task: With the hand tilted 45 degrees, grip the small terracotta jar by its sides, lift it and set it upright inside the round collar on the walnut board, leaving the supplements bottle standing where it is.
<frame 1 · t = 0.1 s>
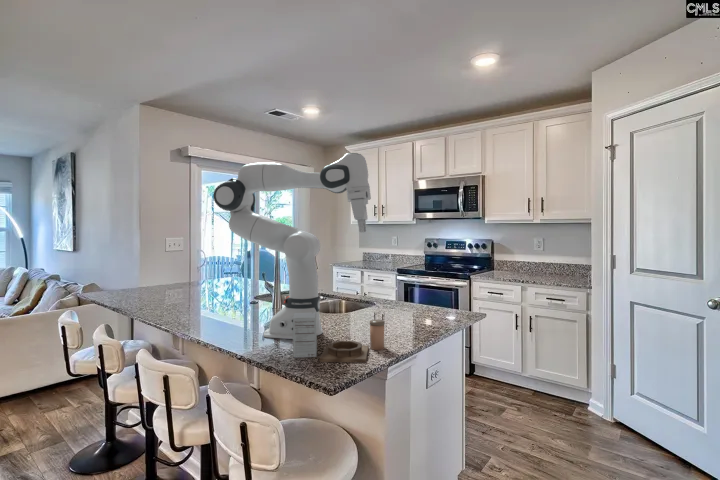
hand: (362, 232, 148), 39 cm above the countertop, tool pointing down, fingers open, 8 cm apart
jar stand: (345, 354, 124), on the countertop
supplement box: (305, 354, 126), on the countertop
spice jar: (377, 347, 131), on the countertop
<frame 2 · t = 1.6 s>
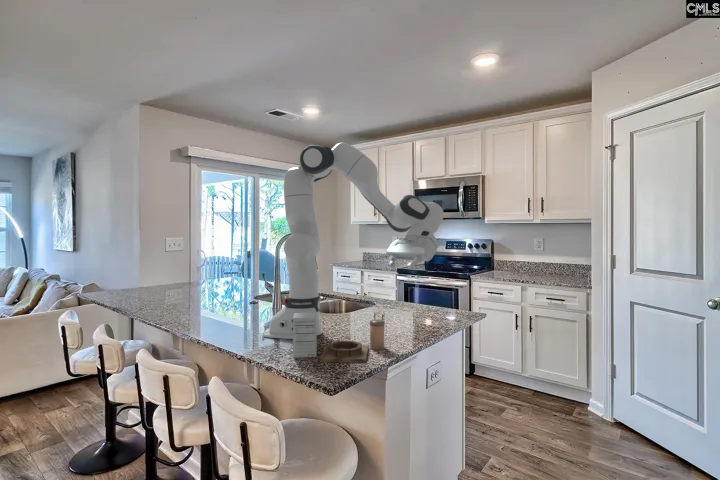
hand: (399, 267, 138), 26 cm above the countertop, tool tilted 45°, fingers open, 8 cm apart
nothing on the countertop moved.
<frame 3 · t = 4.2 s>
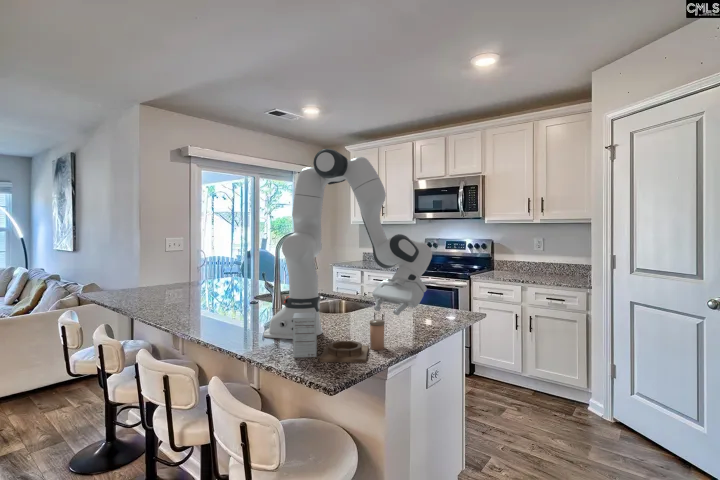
hand: (385, 312, 134), 11 cm above the countertop, tool tilted 45°, fingers open, 8 cm apart
nothing on the countertop moved.
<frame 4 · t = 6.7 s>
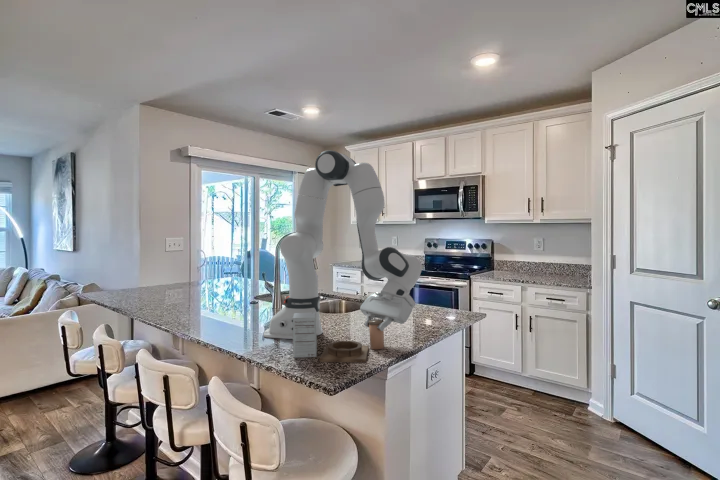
hand: (372, 328, 130), 7 cm above the countertop, tool tilted 45°, fingers closed on spice jar, 5 cm apart
spice jar: (377, 347, 131), on the countertop, touching gripper
everything else where it was.
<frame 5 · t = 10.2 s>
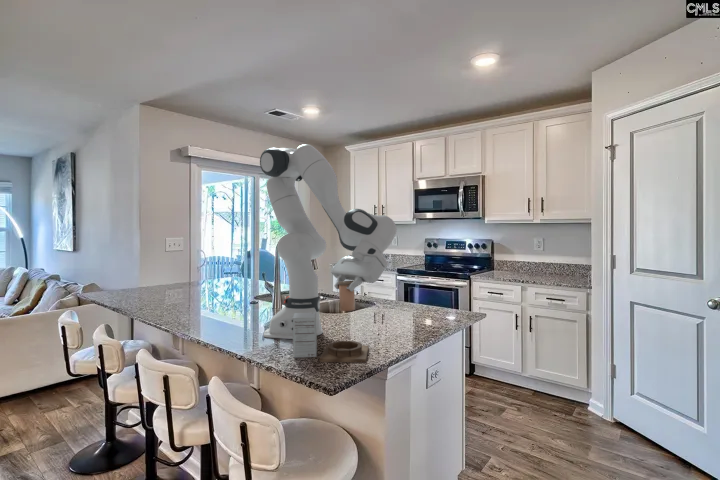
hand: (342, 288, 123), 21 cm above the countertop, tool tilted 45°, fingers closed on spice jar, 5 cm apart
spice jar: (347, 309, 124), point 14 cm above the countertop, touching gripper
everything else where it was.
when the fingers open (9 cm above the countertop, at t = 13.7 s): spice jar drops 1 cm, resting on jar stand.
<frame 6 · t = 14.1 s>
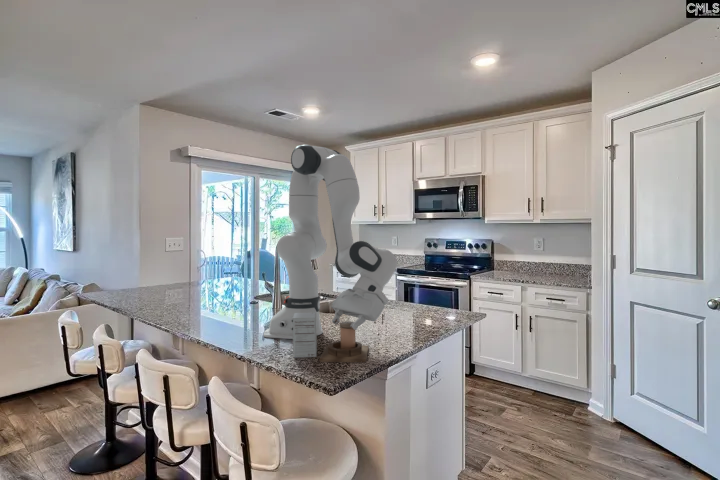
hand: (343, 325, 123), 9 cm above the countertop, tool tilted 45°, fingers open, 8 cm apart
spice jar: (348, 351, 124), point 1 cm above the countertop, touching jar stand
everything else where it was.
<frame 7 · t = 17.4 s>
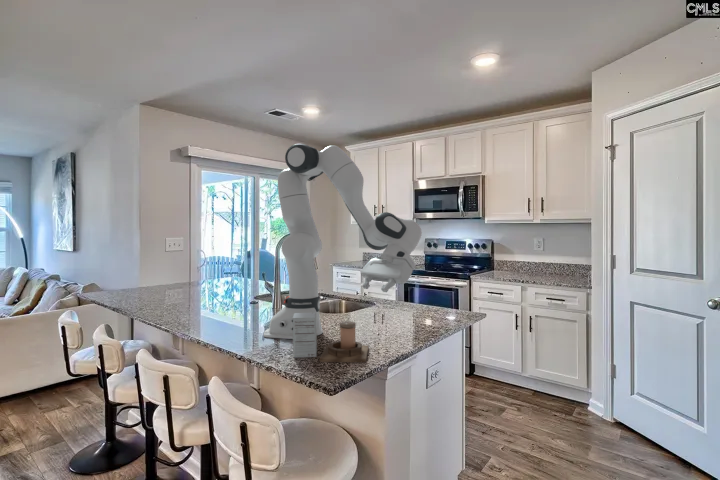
hand: (373, 289, 132), 19 cm above the countertop, tool tilted 45°, fingers open, 8 cm apart
nothing on the countertop moved.
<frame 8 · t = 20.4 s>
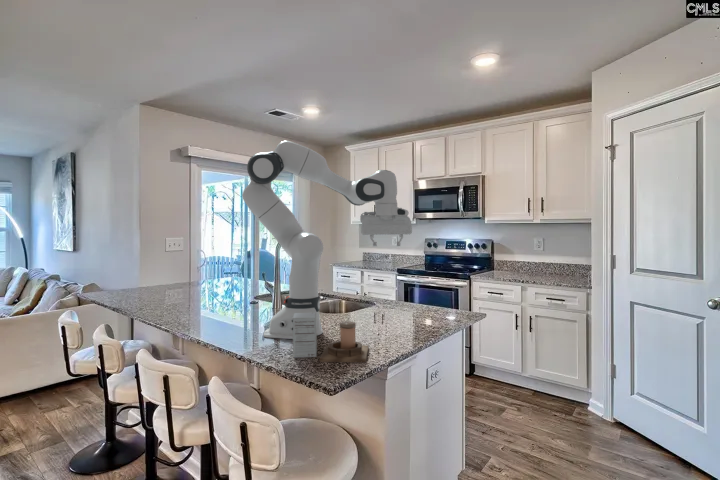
hand: (386, 246, 156), 33 cm above the countertop, tool pointing down, fingers open, 8 cm apart
nothing on the countertop moved.
at the end: spice jar 0.9 cm off-centre on the jar stand, point 1.0 cm above the jar stand's base; spice jar tilted 0°; the gripper is holding nothing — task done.
